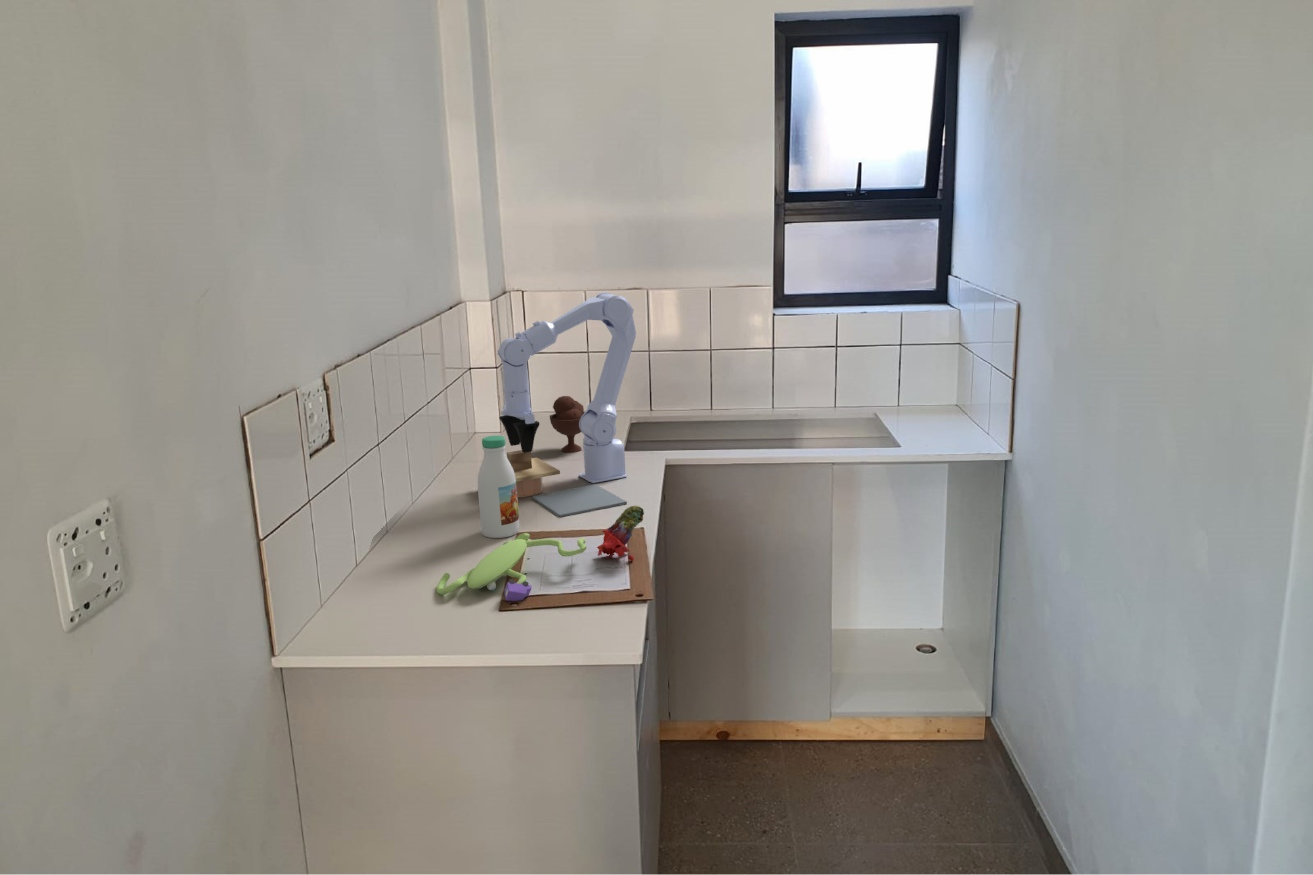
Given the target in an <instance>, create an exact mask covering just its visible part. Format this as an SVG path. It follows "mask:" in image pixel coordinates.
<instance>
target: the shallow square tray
mask: <svg viewBox="0 0 1313 875" xmlns="http://www.w3.org/2000/svg"><path fill="white" fill-rule="evenodd" d="M531 499H532V500H534V501H536V502H537V503H538V504H540V505H541V506H542V507H544V508H545V509H547V510H548V511H550V512H551V513H553V514H555V515H557V517H559V518H563V517H568V516H574V515H578V514H582V513H588V512H593V511H599V510H603V509H607V508H612V507H617V506H622V505H623V506H624V505H627V504H628V502H627V501H626V500H625V499H623V498H621V497H619V496H617V495H616V494H614V493H612V492H610V491H608V490H607V489H605V488H603V487H601V486H599V485H597V484H596V483H593V484H589V485H584V486H578V487H574V488H568V489H564V490H563V489H562V490H559V491H552V492H547V493H541V494H535V495H532V496H531Z"/></svg>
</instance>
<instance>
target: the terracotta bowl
mask: <svg viewBox="0 0 1313 875" xmlns="http://www.w3.org/2000/svg"><path fill="white" fill-rule="evenodd" d="M543 486H544V485H543V477H540V478H535V479H529V480H524V481H518V482H516V487H517V498H525V497H532V496H535V495H539V494H540V493H542V491H543V489H544V487H543Z"/></svg>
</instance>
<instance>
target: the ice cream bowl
mask: <svg viewBox="0 0 1313 875" xmlns="http://www.w3.org/2000/svg"><path fill="white" fill-rule="evenodd" d="M552 409H553V410H554V413H553V414H550V415H549V421H550V424H551V426H552V428H553V429H554V430H555V431H556V432H558V433H559V434H561V435H563V436H566V438H567V444H565V445H564V446H563V447H562V448H561V452H562V453H569V454H570V453H578V452H581V451H582V446H580V445H579V444H576V443H575V436H576V435H578V434H581V433H582V432H581V430H580V427H579V421H580V419H581V417H582V416H583V414H584V413H585V412H586V411H585V408H584V405H583V404H581V403H580V402H579V401H578V400H575V399H574V398H572V397H571V396H570V395H562V396H559V397H558V398H557V399H555V400H554V403H553V405H552Z"/></svg>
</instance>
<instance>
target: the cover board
mask: <svg viewBox="0 0 1313 875" xmlns="http://www.w3.org/2000/svg"><path fill="white" fill-rule="evenodd" d="M506 456H507V459H508V461H509V462H510V464H511V466H512V468H513V470H514V473H515V478H516V482H518V481H524V480H529V479H535V478H540V477H542V478H546V477H551V476H556V475H557V476H558V475H560V474H561V470H560V469H558V468H556V467H554V466H552V465H551V464H549V463H547V462H546V461H544V460H542V459H540V458H539V457H532V452H526V453H523V452H522V449H520V450H514V451H509V452H508V451H507V452H506Z"/></svg>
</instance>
